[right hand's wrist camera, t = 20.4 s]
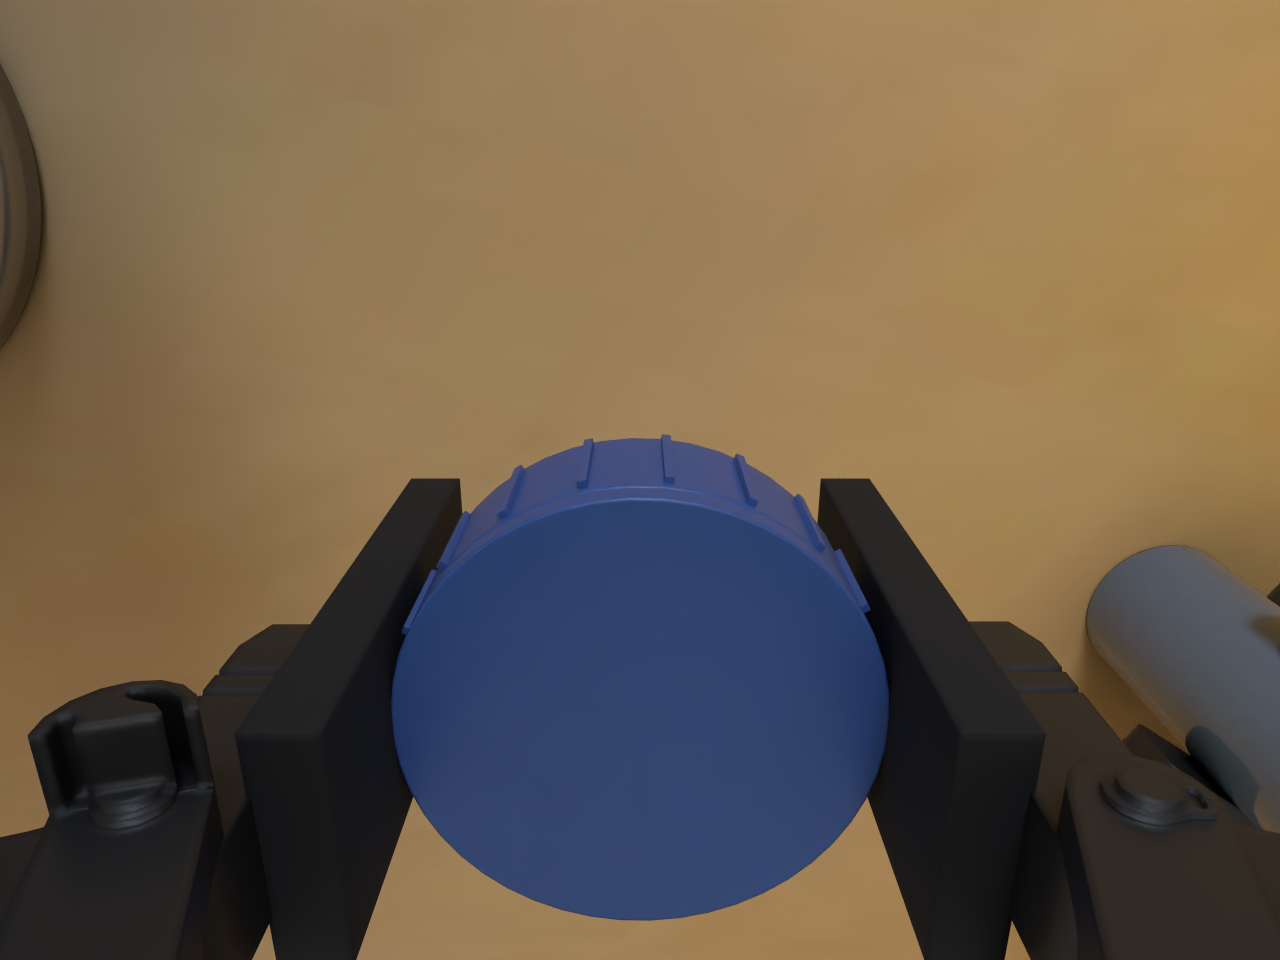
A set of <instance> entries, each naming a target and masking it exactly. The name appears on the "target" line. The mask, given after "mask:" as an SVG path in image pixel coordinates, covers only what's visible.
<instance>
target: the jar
mask: <svg viewBox="0 0 1280 960" xmlns="http://www.w3.org/2000/svg"><path fill="white" fill-rule="evenodd" d="M1087 631H1088V635H1089V638H1090V641H1091V643H1092V645H1093V647H1094V649H1095V650H1096V651H1097V653H1098V654H1099V655H1100V656H1101V657H1102V658H1103V659H1104V661H1105V662H1106V663H1107V664H1108V665H1109V666H1110V667H1111V668H1112V669H1113V670H1114V672H1115V673H1116V674H1117V675H1118V676H1119V677H1120V678H1121V679H1122V680H1123V681H1124V683H1125V684H1126V685H1127V686H1128V687H1129V688H1130V689H1131V690H1132V691H1133V693H1134V694H1135V695H1136V696H1137V697H1138V698H1139V699H1140V700H1141V701H1142V702H1143V704H1144V705H1145V706H1146V707H1147V708H1148V709H1149V710H1150V711H1151V712H1152V713H1153V715H1154V716H1155V717H1156V718H1157V719H1158V720H1159V721H1160V722H1161V723H1162V724H1163V726H1164V727H1165V728H1166V729H1167V730H1168V731H1169V732H1170V733H1171V734H1172V735H1173V737H1174V738H1175V739H1176V740H1177V741H1178V742H1179V743H1180V744H1181V745H1182V746H1183V748H1184V749H1185V750H1186V751H1187V752H1188V753H1189V754H1190V755H1191V756H1192V757H1193V759H1194V760H1195V761H1196V762H1197V763H1198V764H1199V765H1200V766H1201V767H1202V768H1203V770H1204V771H1205V772H1206V773H1207V774H1208V775H1209V776H1210V777H1211V778H1212V779H1213V781H1214V782H1215V783H1216V784H1217V785H1218V786H1219V787H1220V788H1221V789H1222V790H1223V792H1224V793H1225V794H1226V795H1227V796H1228V797H1229V798H1230V799H1231V800H1232V802H1233V803H1234V804H1235V805H1236V806H1237V807H1238V808H1239V809H1240V810H1241V811H1242V813H1243V814H1244V815H1245V816H1246V817H1247V818H1248V819H1249V820H1250V821H1251V822H1252V824H1253V825H1254V826H1255V827H1256V828H1257V829H1262V830H1266V831H1271V832H1276V833H1280V607H1279V606H1278V605H1276V604H1275V603H1273V602H1272V601H1271V600H1269V599H1268V598H1267V596H1266V595H1265V594H1263V593H1262V592H1261V591H1259V590H1258V589H1257V588H1255V587H1254V586H1252V585H1251V584H1250V583H1248V582H1247V581H1245V580H1244V579H1243V578H1241V577H1240V576H1238V575H1237V574H1236V573H1234V572H1233V571H1231V570H1230V569H1229V568H1227V567H1226V566H1224V565H1223V564H1222V563H1220V562H1219V561H1217V560H1216V559H1215V558H1213V557H1212V556H1210V555H1208V554H1207V553H1205V552H1203V551H1200V550H1198V549H1194V548H1190V547H1185V546H1163V547H1156V548H1152V549H1148V550H1145V551H1143V552H1140V553H1138V554H1135V555H1133V556H1131V557H1129V558H1128V559H1126V560H1125V561H1123V562H1121V563H1120V564H1119V565H1117V566H1116V567H1115V568H1114V569H1113V570H1111V571H1110V572H1109V573H1108V574H1107V575H1106V576H1105V578H1104V579H1103V580H1102V581H1101V583H1100V584H1099V586H1098V587H1097V589H1096V590H1095V592H1094V594H1093V596H1092V598H1091V601H1090V604H1089V607H1088V612H1087Z"/></svg>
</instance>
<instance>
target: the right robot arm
mask: <svg viewBox="0 0 1280 960" xmlns="http://www.w3.org/2000/svg"><path fill="white" fill-rule="evenodd" d="M40 237H41V196H40V188H39V180H38V172H37V167H36V162H35V158H34V153H33V149H32V144H31V140H30V137H29V134H28V130H27V127H26V124H25V121H24V118H23V114H22V112H21V109H20V107H19V104H18V102H17V99H16V97H15V94H14V92H13V89H12V87H11V84H10V82H9V80H8V78H7V76H6V74H5V72H4V70H3V68H2V66H1V64H0V347H1V346H2V344H3V343H4V342H5V340H6V339H7V338H8V336H9V335H10V333H11V331H12V330H13V328H14V326H15V324H16V323H17V321H18V319H19V317H20V315H21V313H22V311H23V308H24V306H25V304H26V301H27V299H28V297H29V293H30V290H31V287H32V283H33V280H34V277H35V273H36V267H37V262H38V256H39V251H40ZM461 515H462V503H461V489H460V479H411V480H410V481H409V483H408V484H407V486H406V487H405V489H404V490H403V491H402V493H401V494H400V496H399V497H398V499H397V500H396V502H395V503H394V504H393V506H392V507H391V509H390V510H389V512H388V513H387V515H386V516H385V517H384V519H383V520H382V522H381V523H380V525H379V526H378V528H377V529H376V530H375V532H374V533H373V535H372V536H371V538H370V539H369V540H368V542H367V543H366V545H365V546H364V548H363V549H362V551H361V552H360V553H359V555H358V556H357V558H356V559H355V561H354V562H353V564H352V565H351V566H350V568H349V569H348V571H347V572H346V574H345V575H344V577H343V578H342V579H341V581H340V582H339V584H338V585H337V587H336V588H335V590H334V591H333V592H332V594H331V595H330V597H329V598H328V600H327V601H326V603H325V604H324V605H323V607H322V608H321V610H320V611H319V613H318V614H317V615H316V617H315V618H314V620H313V621H312V623H311V624H273V625H271V626H269V627H268V628H266V629H265V630H263V631H261V632H260V633H258V634H257V635H255V636H254V637H252V638H250V639H249V640H247V641H246V642H244V643H243V644H241V645H239V647H238V648H237V649H236V650H235V651H234V653H233V654H232V655H231V656H230V658H229V659H228V660H227V661H226V663H225V664H224V665H223V666H222V668H221V669H220V670H219V672H220V673H219V675H215V676H214V678H213V679H212V680H211V681H210V682H209V684H208V685H207V686H206V687H205V689H204V690H203V695H202V696H198V697H197V695H196V694H195V693H194V692H192V691H191V690H190V689H189V688H187V687H186V686H185V685H183V684H178V683H173V682H168V681H163V680H153V681H133V682H128V683H123V684H119V685H115V686H110V687H106V688H102V689H98V690H96V691H94V692H91V693H89V694H86V695H84V696H81V697H79V698H76V699H74V700H71V701H69V702H67V703H66V704H64V705H63V706H61V707H59V708H58V709H56V710H55V711H53V712H52V713H50V714H48V715H47V716H45V717H44V718H43V719H42V720H41V721H40V722H39V723H38V724H37V726H36V727H35V728H34V729H33V730H32V731H31V732H30V733H29V734H28V740H29V743H30V747H31V750H32V754H33V758H34V761H35V765H36V768H37V772H38V775H39V779H40V783H41V786H42V790H43V793H44V797H45V801H46V804H47V808H48V811H49V818H48V820H47V822H46V824H45V826H44V827H43V828H39V829H35V830H32V831H28V832H23V833H19V834H14V835H9V836H4V837H0V960H252V959H253V956H254V954H255V952H256V950H257V948H258V946H259V944H260V942H261V940H262V938H263V936H264V933H265V931H266V929H267V927H268V925H269V924H270V929H271V935H272V940H273V945H274V951H275V956H276V960H356V959H357V956H358V953H359V950H360V947H361V945H362V942H363V939H364V936H365V933H366V930H367V927H368V925H369V922H370V919H371V916H372V913H373V910H374V907H375V905H376V902H377V899H378V896H379V893H380V890H381V887H382V885H383V882H384V879H385V876H386V873H387V870H388V867H389V865H390V862H391V859H392V856H393V853H394V850H395V847H396V845H397V842H398V839H399V836H400V833H401V830H402V827H403V825H404V822H405V819H406V816H407V813H408V810H409V807H410V805H411V802H412V799H413V795H412V793H411V791H410V789H409V787H408V784H407V782H406V779H405V777H404V774H403V772H402V769H401V767H400V764H399V760H398V756H397V752H396V747H395V740H394V732H393V722H392V713H391V696H392V682H393V677H394V673H395V668H396V664H397V660H398V655H399V652H400V649H401V647H402V644H403V642H404V639H405V637H406V635H405V634H402V629H403V626H404V624H405V622H406V620H407V618H408V616H409V614H410V612H411V610H412V608H413V606H414V604H415V602H416V600H417V598H418V596H419V594H420V592H421V590H422V588H423V586H424V584H425V582H426V580H427V578H428V576H429V574H430V572H431V570H436V571H437V569H438V568H437V567H436V566H437V564H438V562H439V560H440V558H441V556H442V554H443V552H444V550H445V548H446V546H447V544H448V542H449V540H450V538H451V535H452V533H453V531H454V529H455V527H456V525H457V523H458V521H459V519H460V517H461ZM818 525H819V527H820V528H821V530H822V531H823V532H824V534H825V535H826V537H827V539H828V541H829V543H830V545H831V546H832V548H833V550H834V551H836V550H838V549H841V551H842V553H843V555H844V557H845V559H846V561H847V563H848V565H849V567H850V569H851V571H852V573H853V575H854V577H855V579H856V581H857V583H858V585H859V587H860V589H861V591H862V593H863V595H864V597H865V599H866V601H867V603H868V605H869V607H870V611H868V612H866V613H864V614H865V616H866V618H867V621H868V622H869V624H870V626H871V629H872V631H873V633H874V635H875V637H876V640H877V643H878V646H879V649H880V652H881V655H882V658H883V661H884V664H885V670H886V676H887V682H888V687H889V719H888V728H887V737H886V746H885V751H884V754H883V758H882V761H881V764H880V768H879V771H878V774H877V776H876V779H875V781H874V783H873V785H872V787H871V789H870V792H869V794H868V796H867V797H868V800H869V803H870V806H871V809H872V812H873V814H874V817H875V820H876V823H877V826H878V829H879V832H880V834H881V837H882V840H883V843H884V846H885V849H886V852H887V854H888V857H889V860H890V863H891V866H892V869H893V872H894V874H895V877H896V880H897V883H898V886H899V889H900V892H901V894H902V897H903V900H904V903H905V906H906V909H907V912H908V914H909V917H910V920H911V923H912V926H913V929H914V932H915V934H916V937H917V940H918V943H919V946H920V949H921V952H922V954H923V957H924V960H1004V959H1005V954H1006V949H1007V943H1008V938H1009V932H1010V927H1011V922H1012V921H1013V923H1014V926H1015V928H1016V930H1017V932H1018V934H1019V936H1020V938H1021V940H1022V942H1023V944H1024V946H1025V948H1026V950H1027V953H1028V955H1029V957H1030V959H1031V960H1280V833H1276V832H1271V831H1266V830H1262V829H1257V828H1253V827H1249V826H1245V825H1242V824H1238V823H1235V822H1234V820H1233V818H1232V816H1231V814H1230V813H1229V811H1228V810H1227V809H1226V807H1225V806H1224V805H1223V803H1222V802H1221V801H1220V799H1219V798H1218V797H1217V795H1216V794H1214V793H1213V792H1212V791H1210V790H1209V789H1208V788H1206V787H1205V786H1204V785H1202V784H1201V783H1200V782H1198V781H1197V780H1196V779H1194V778H1193V777H1191V776H1189V775H1187V774H1185V773H1183V772H1181V771H1179V770H1176V769H1174V768H1172V767H1170V766H1168V765H1166V764H1163V763H1161V762H1157V761H1153V760H1149V759H1145V758H1142V757H1138V756H1134V755H1133V754H1132V753H1131V752H1130V750H1129V749H1128V748H1127V747H1126V745H1125V744H1124V743H1123V742H1122V741H1121V739H1120V738H1119V737H1118V736H1117V734H1116V733H1115V732H1114V731H1113V729H1112V728H1111V727H1110V726H1109V725H1108V723H1107V722H1106V721H1105V720H1104V718H1103V717H1102V716H1101V715H1100V713H1099V712H1098V711H1097V710H1096V709H1095V707H1094V706H1093V705H1092V704H1091V702H1090V701H1089V700H1088V699H1087V697H1086V696H1085V695H1084V694H1083V693H1079V691H1078V686H1077V685H1076V684H1075V683H1074V682H1073V680H1072V679H1071V678H1070V677H1069V675H1068V674H1067V673H1066V672H1062V667H1061V666H1060V664H1059V663H1058V662H1057V661H1056V659H1055V658H1054V657H1053V656H1052V654H1051V653H1050V652H1049V651H1048V650H1047V648H1046V647H1045V646H1044V645H1043V643H1042V642H1040V641H1039V640H1037V639H1035V638H1034V637H1032V636H1031V635H1029V634H1027V633H1026V632H1024V631H1023V630H1021V629H1019V628H1018V627H1016V626H1015V625H1013V624H1011V623H1010V622H968V620H967V619H966V617H965V616H964V615H963V613H962V612H961V610H960V609H959V607H958V606H957V605H956V603H955V602H954V600H953V599H952V597H951V596H950V594H949V593H948V592H947V590H946V589H945V587H944V586H943V584H942V583H941V581H940V580H939V579H938V577H937V576H936V574H935V573H934V571H933V570H932V568H931V567H930V566H929V564H928V563H927V561H926V560H925V558H924V557H923V556H922V554H921V553H920V551H919V550H918V548H917V547H916V545H915V544H914V543H913V541H912V540H911V538H910V537H909V535H908V534H907V532H906V531H905V530H904V528H903V527H902V525H901V524H900V522H899V521H898V519H897V518H896V517H895V515H894V514H893V512H892V511H891V509H890V508H889V506H888V505H887V504H886V502H885V501H884V499H883V498H882V496H881V495H880V494H879V492H878V491H877V489H876V488H875V486H874V485H873V483H872V482H871V481H870V479H821V484H820V497H819V511H818Z"/></svg>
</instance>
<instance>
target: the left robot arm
mask: <svg viewBox="0 0 1280 960" xmlns="http://www.w3.org/2000/svg"><path fill="white" fill-rule="evenodd" d="M1267 598H1268V599H1269V600H1271V601H1272V602H1273V603H1275V604H1276V605H1278V606H1279V607H1280V584H1279V585H1278V586H1277V587H1276V588H1275V589H1274V590H1273V591H1272V592H1271V593H1270V594H1269V595H1268V596H1267ZM1122 742H1123V743H1124V744H1125V745H1126V747H1127V748H1128V749H1129V750H1130V752H1131V753H1132V754H1133V755H1134V756H1138V757H1142V758H1145V759H1149V760H1153V761H1157V762H1161V763H1163V764H1166V765H1168V766H1170V767H1172V768H1174V769H1176V770H1179V771H1181V772H1183V773H1185V774H1187V775H1189V776H1191V777H1193V778H1194V779H1196V780H1197V781H1198V782H1200V783H1201V784H1202V785H1204V786H1205V787H1206V788H1208V789H1209V790H1210V791H1212V792H1213V793H1214V794H1216V795H1217V797H1218V798H1219V799H1220V801H1221V802H1222V803H1223V805H1224V806H1225V807H1226V809H1227V810H1228V811H1229V813H1230V814H1231V816H1232V818H1233V820H1234V822H1235V823H1238V824H1242V825H1245V826H1249V827H1253V828H1256V827H1255V826H1254V825H1253V824H1252V822H1251V821H1250V820H1249V819H1248V818H1247V817H1246V816H1245V815H1244V814H1243V813H1242V811H1241V810H1240V809H1239V808H1238V807H1237V806H1236V805H1235V804H1234V803H1233V802H1232V800H1231V799H1230V798H1229V797H1228V796H1227V795H1226V794H1225V793H1224V792H1223V790H1222V789H1221V788H1220V787H1219V786H1218V785H1217V784H1216V783H1215V782H1214V781H1213V779H1212V778H1211V777H1210V776H1209V775H1208V774H1207V773H1206V772H1205V771H1204V770H1203V768H1202V767H1201V766H1200V765H1199V764H1198V763H1197V762H1196V761H1195V760H1194V759H1193V757H1192V756H1190V755H1189V754H1187V753H1186V752H1184V751H1182V750H1181V749H1179V748H1178V747H1176V746H1175V745H1173V744H1171V743H1170V742H1168V741H1167V740H1165V739H1163V738H1162V737H1160V736H1159V735H1157V734H1156V733H1154V732H1152V731H1151V730H1149V729H1148V728H1146V727H1144V726H1143V725H1141V724H1139V725H1138V726H1137V727H1136V728H1135V729H1134V730H1133V731H1132V732H1131V733H1130V734H1129V735H1128V736H1126V737H1125V738H1124V739H1123V740H1122Z"/></svg>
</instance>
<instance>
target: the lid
mask: <svg viewBox="0 0 1280 960" xmlns="http://www.w3.org/2000/svg"><path fill="white" fill-rule="evenodd" d="M436 567H437V568H438V569H437V571H436V570H431V572H430V574H429V576H428V578H427V580H426V582H425V584H424V586H423V588H422V590H421V592H420V594H419V596H418V598H417V600H416V602H415V604H414V606H413V608H412V610H411V612H410V614H409V616H408V618H407V620H406V622H405V624H404V626H403V629H402V634H405V635H406V637H405V639H404V642H403V644H402V647H401V649H400V652H399V655H398V660H397V664H396V668H395V673H394V677H393V682H392V696H391V713H392V722H393V732H394V740H395V747H396V752H397V756H398V760H399V764H400V767H401V769H402V772H403V774H404V777H405V779H406V782H407V784H408V787H409V789H410V791H411V793H412V795H413V796H414V798H415V800H416V802H417V803H418V805H419V807H420V809H421V810H422V812H423V814H424V815H425V816H426V818H427V819H428V820H429V822H430V823H431V824H432V825H433V827H434V828H435V829H436V831H437V832H438V833H439V834H440V836H441V837H442V838H443V839H444V840H445V841H446V842H447V843H448V844H449V845H450V846H451V847H452V848H453V849H454V850H455V851H456V852H457V853H458V854H459V855H460V856H461V857H463V858H464V859H465V860H467V861H468V862H469V863H470V864H472V865H473V866H474V867H476V868H477V869H478V870H479V871H481V872H482V873H483V874H485V875H487V876H488V877H490V878H492V879H493V880H495V881H496V882H498V883H500V884H501V885H503V886H505V887H506V888H508V889H510V890H512V891H515V892H517V893H519V894H521V895H523V896H525V897H528V898H530V899H532V900H534V901H537V902H540V903H543V904H546V905H549V906H552V907H555V908H558V909H561V910H564V911H569V912H573V913H578V914H582V915H587V916H591V917H600V918H608V919H616V920H649V921H650V920H662V919H674V918H682V917H688V916H693V915H698V914H704V913H709V912H712V911H716V910H719V909H722V908H726V907H729V906H732V905H736V904H738V903H741V902H743V901H746V900H748V899H750V898H753V897H755V896H758V895H760V894H763V893H765V892H766V891H768V890H770V889H772V888H774V887H775V886H777V885H779V884H781V883H783V882H784V881H786V880H788V879H790V878H791V877H792V876H794V875H795V874H797V873H798V872H799V871H801V870H802V869H804V868H805V867H807V866H808V865H809V864H811V863H812V862H813V861H814V860H815V859H816V858H818V857H819V856H820V855H821V854H822V853H823V852H824V851H825V850H826V849H827V848H829V847H830V846H831V845H832V844H833V843H834V842H835V840H836V839H837V838H838V837H839V836H840V835H841V833H842V832H843V831H844V830H845V829H846V828H847V826H848V825H849V824H850V823H851V822H852V820H853V818H854V817H855V815H856V814H857V812H858V811H859V809H860V808H861V806H862V805H863V803H864V801H865V800H866V798H867V796H868V794H869V792H870V789H871V787H872V785H873V783H874V781H875V779H876V776H877V774H878V771H879V768H880V764H881V761H882V758H883V754H884V751H885V746H886V737H887V728H888V719H889V687H888V682H887V676H886V670H885V664H884V661H883V658H882V655H881V652H880V649H879V646H878V643H877V640H876V637H875V635H874V633H873V631H872V629H871V626H870V624H869V622H868V621H867V618H866V616H865V614H864V613H866V612H868V611H870V607H869V605H868V603H867V601H866V599H865V597H864V595H863V593H862V591H861V589H860V587H859V585H858V583H857V581H856V579H855V577H854V575H853V573H852V571H851V569H850V567H849V565H848V563H847V561H846V559H845V557H844V555H843V553H842V551H841V549H838V550H836V551H834V550H833V548H832V546H831V545H830V543H829V541H828V539H827V537H826V535H825V534H824V532H823V531H822V530H821V528H820V527H819V525H818V524H817V523H816V521H815V520H814V518H813V517H812V515H811V513H810V511H809V509H808V506H807V504H806V502H805V500H804V498H803V497H802V496H801V495H800V494H797V495H796V496H795V497H794V496H793V495H792V494H790V493H789V492H788V491H787V490H785V489H784V488H783V487H781V486H780V485H779V484H778V483H776V482H775V481H774V480H773V479H771V478H770V477H768V476H767V475H765V474H763V473H762V472H760V471H758V470H757V469H755V468H753V467H752V466H750V465H748V464H746V461H745V458H744V456H741V455H739V454H736V456H735V457H734V458H733V457H730V456H728V455H726V454H723V453H721V452H719V451H715V450H712V449H708V448H705V447H701V446H697V445H694V444H690V443H684V442H677V441H671V436H670V435H662V437H661V439H638V438H629V439H619V440H610V441H601V442H596V443H594V442H593V439H592V438H591V439H587V440H584V445H583V446H579V447H575V448H571V449H568V450H566V451H563V452H560V453H558V454H555V455H552V456H550V457H547V458H544V459H542V460H541V461H539V462H537V463H535V464H533V465H531V466H529V467H527V468H525V469H524V468H523V467H522V465H520V466H518V467H517V468H515V469H514V471H513V474H512V476H511V478H510V479H508V480H507V481H506V482H504V483H503V484H501V485H500V486H499V487H497V488H496V489H495V490H494V491H493V492H492V493H491V494H490V495H488V496H487V497H486V498H485V499H484V500H483V501H482V502H481V503H480V504H479V505H478V506H477V507H476V508H475V509H474V511H473V512H472V513H471V514H469V513H468V512H467V511H465V512H464V513H463V514H462V515H461V517H460V519H459V521H458V523H457V525H456V527H455V529H454V531H453V533H452V535H451V538H450V540H449V542H448V544H447V546H446V548H445V550H444V552H443V554H442V556H441V558H440V560H439V562H438V564H437V566H436Z"/></svg>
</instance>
